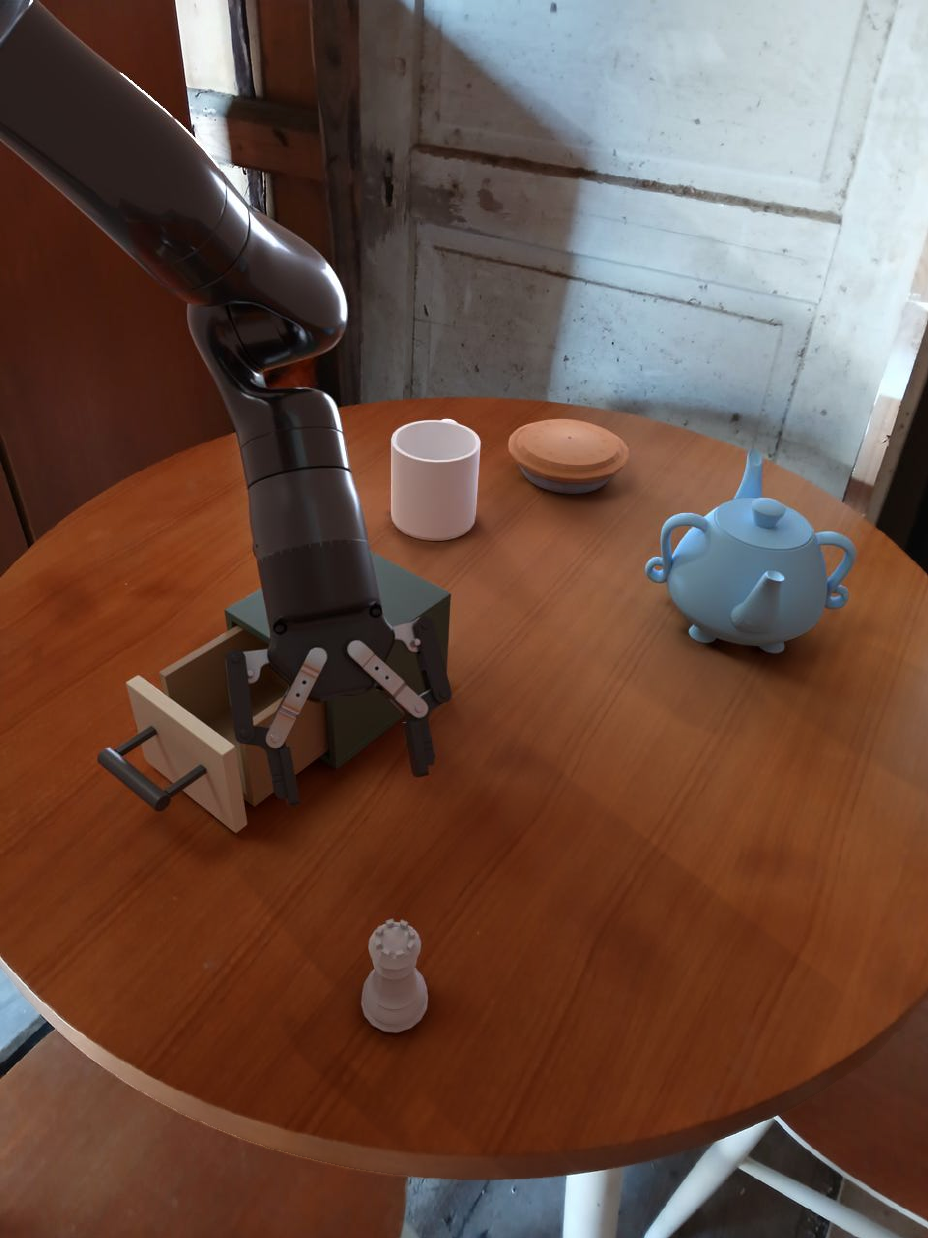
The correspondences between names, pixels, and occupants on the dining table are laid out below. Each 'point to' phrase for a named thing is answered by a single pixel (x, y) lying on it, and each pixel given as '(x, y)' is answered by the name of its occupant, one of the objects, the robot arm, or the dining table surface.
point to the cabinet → (370, 712)
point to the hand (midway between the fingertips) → (359, 790)
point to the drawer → (210, 733)
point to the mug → (434, 479)
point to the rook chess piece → (394, 979)
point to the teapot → (751, 569)
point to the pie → (567, 455)
